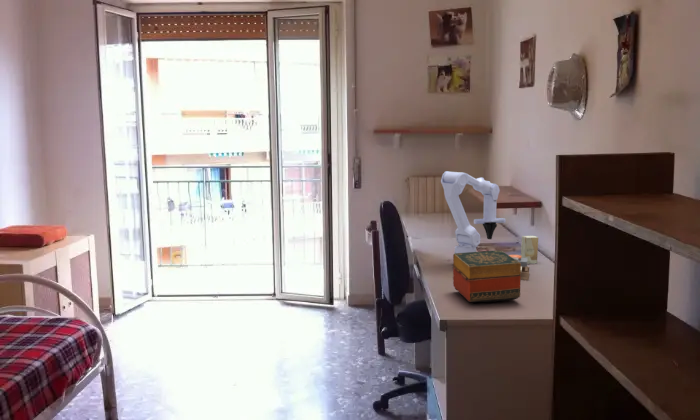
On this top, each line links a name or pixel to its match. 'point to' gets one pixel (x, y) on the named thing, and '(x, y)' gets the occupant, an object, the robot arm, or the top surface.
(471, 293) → the decorative box
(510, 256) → the button
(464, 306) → the top surface
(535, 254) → the skincare box
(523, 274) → the wooden tray
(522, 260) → the cabinet
